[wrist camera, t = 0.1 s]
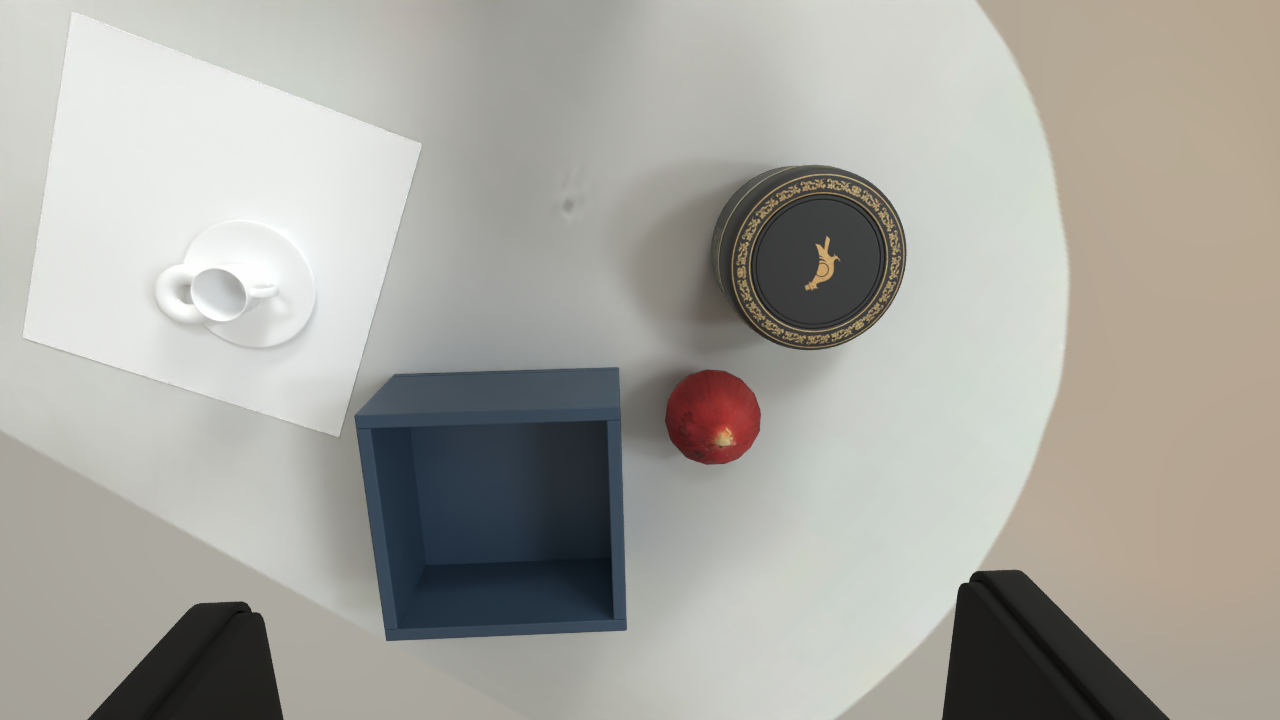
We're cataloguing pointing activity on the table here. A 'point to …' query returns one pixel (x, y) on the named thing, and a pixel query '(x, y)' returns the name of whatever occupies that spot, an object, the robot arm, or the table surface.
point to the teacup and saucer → (212, 229)
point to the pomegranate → (712, 417)
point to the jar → (809, 255)
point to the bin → (496, 502)
